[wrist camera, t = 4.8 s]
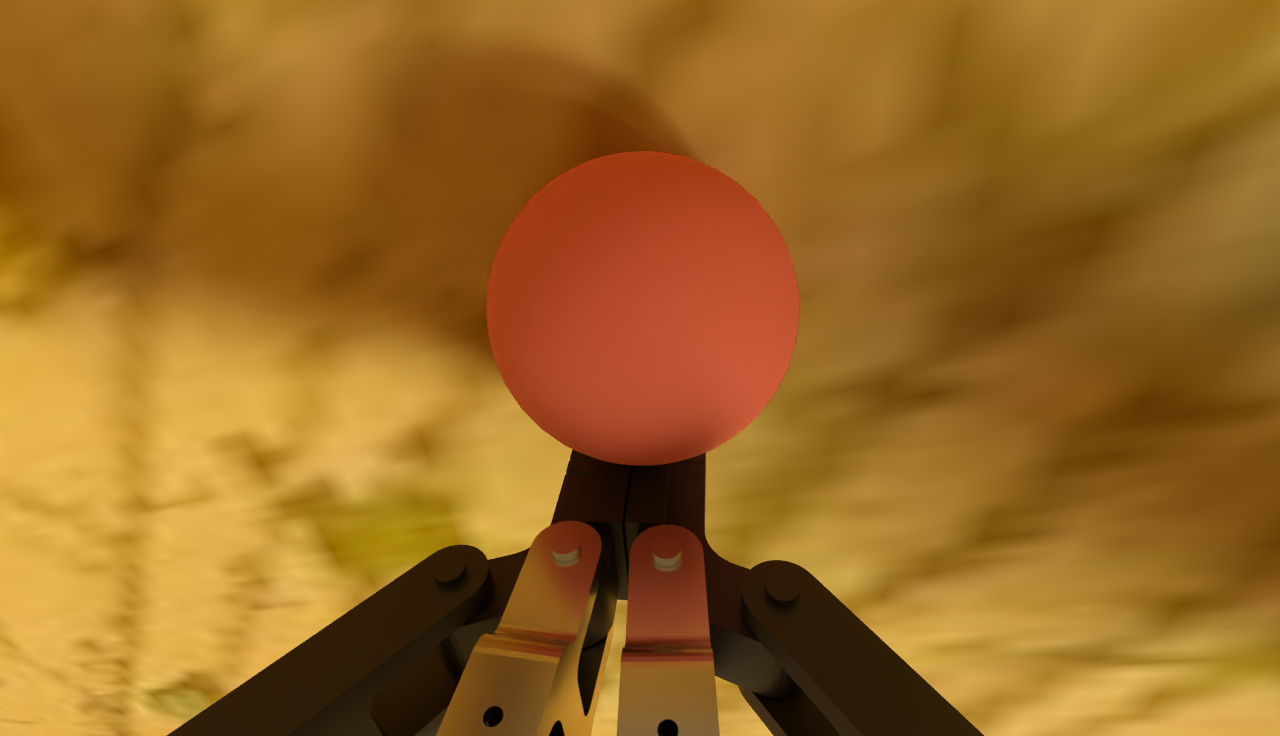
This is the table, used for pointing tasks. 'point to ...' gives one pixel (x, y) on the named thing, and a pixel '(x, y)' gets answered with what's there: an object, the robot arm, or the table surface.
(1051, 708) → the table surface
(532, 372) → the ball
